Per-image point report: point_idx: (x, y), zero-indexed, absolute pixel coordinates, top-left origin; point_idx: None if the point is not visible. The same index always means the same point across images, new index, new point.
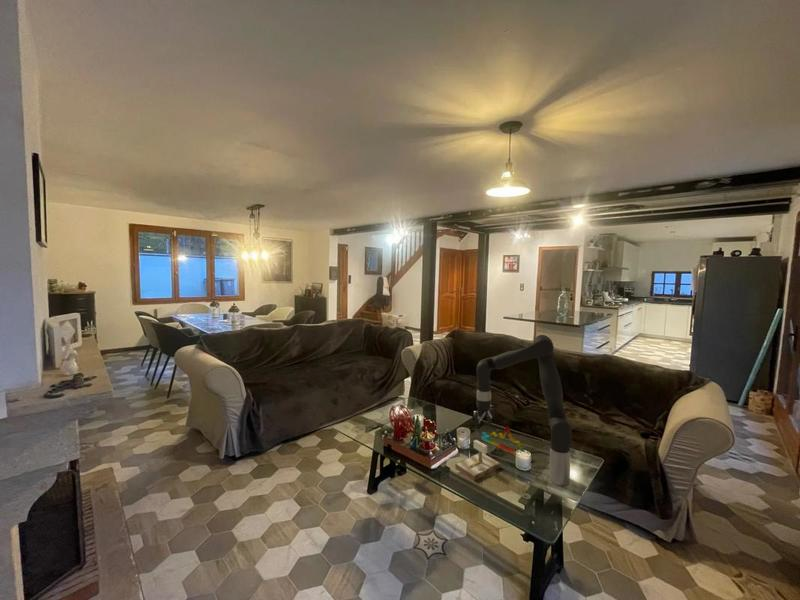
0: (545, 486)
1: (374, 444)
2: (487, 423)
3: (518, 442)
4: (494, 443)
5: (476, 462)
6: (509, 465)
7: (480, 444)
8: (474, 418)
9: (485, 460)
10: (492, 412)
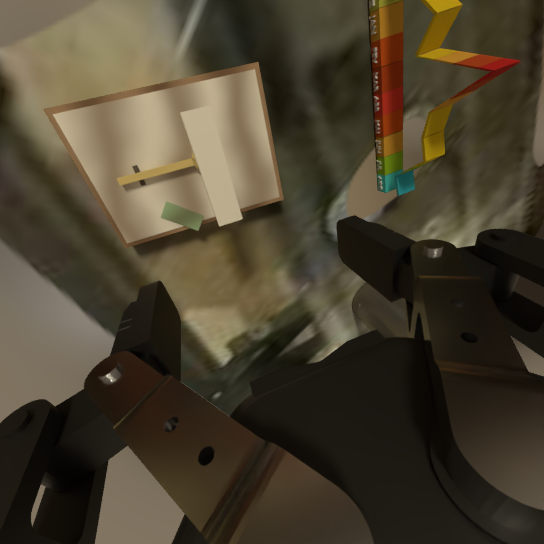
0: (327, 310)
1: None
2: (340, 222)
3: (432, 158)
4: (380, 4)
5: (177, 165)
6: (315, 196)
7: (208, 188)
8: (21, 490)
9: (235, 156)
10: (525, 338)
